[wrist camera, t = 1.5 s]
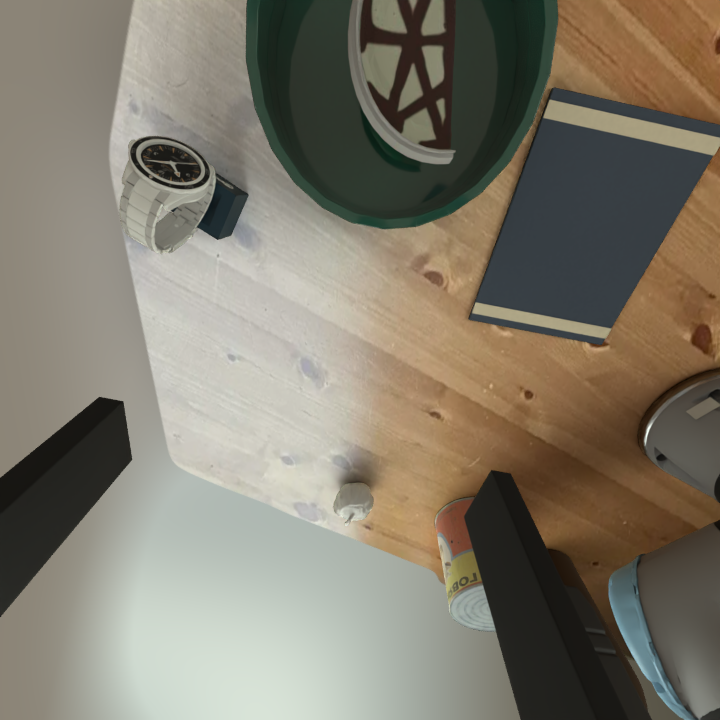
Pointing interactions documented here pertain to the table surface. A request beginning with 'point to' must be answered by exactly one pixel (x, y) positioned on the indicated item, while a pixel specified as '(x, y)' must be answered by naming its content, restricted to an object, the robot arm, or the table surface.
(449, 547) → the canned food
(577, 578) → the olive oil
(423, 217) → the green round shallow dish
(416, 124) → the food container
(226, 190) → the watch
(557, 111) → the towel
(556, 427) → the table surface
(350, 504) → the garlic
